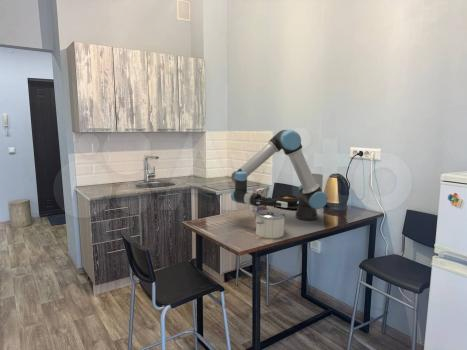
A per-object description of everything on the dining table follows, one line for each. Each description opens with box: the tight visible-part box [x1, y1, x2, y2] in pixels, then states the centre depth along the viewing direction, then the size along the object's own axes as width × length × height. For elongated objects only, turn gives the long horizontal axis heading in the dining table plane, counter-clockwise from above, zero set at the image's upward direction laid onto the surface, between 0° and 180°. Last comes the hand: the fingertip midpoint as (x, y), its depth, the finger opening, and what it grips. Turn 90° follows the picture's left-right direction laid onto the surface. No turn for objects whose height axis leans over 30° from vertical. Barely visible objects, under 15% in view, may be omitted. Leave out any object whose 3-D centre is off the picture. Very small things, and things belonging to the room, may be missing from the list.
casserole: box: [276, 194, 299, 210], centre depth 262 cm, size 25×19×8 cm
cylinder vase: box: [312, 173, 324, 191], centre depth 265 cm, size 12×12×25 cm
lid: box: [253, 209, 286, 220], centre depth 197 cm, size 18×17×2 cm
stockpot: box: [254, 213, 285, 239], centre depth 198 cm, size 17×23×11 cm
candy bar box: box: [252, 187, 268, 212], centre depth 250 cm, size 11×5×16 cm, turn 137°
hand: (286, 205), depth 188 cm, fingers closed
